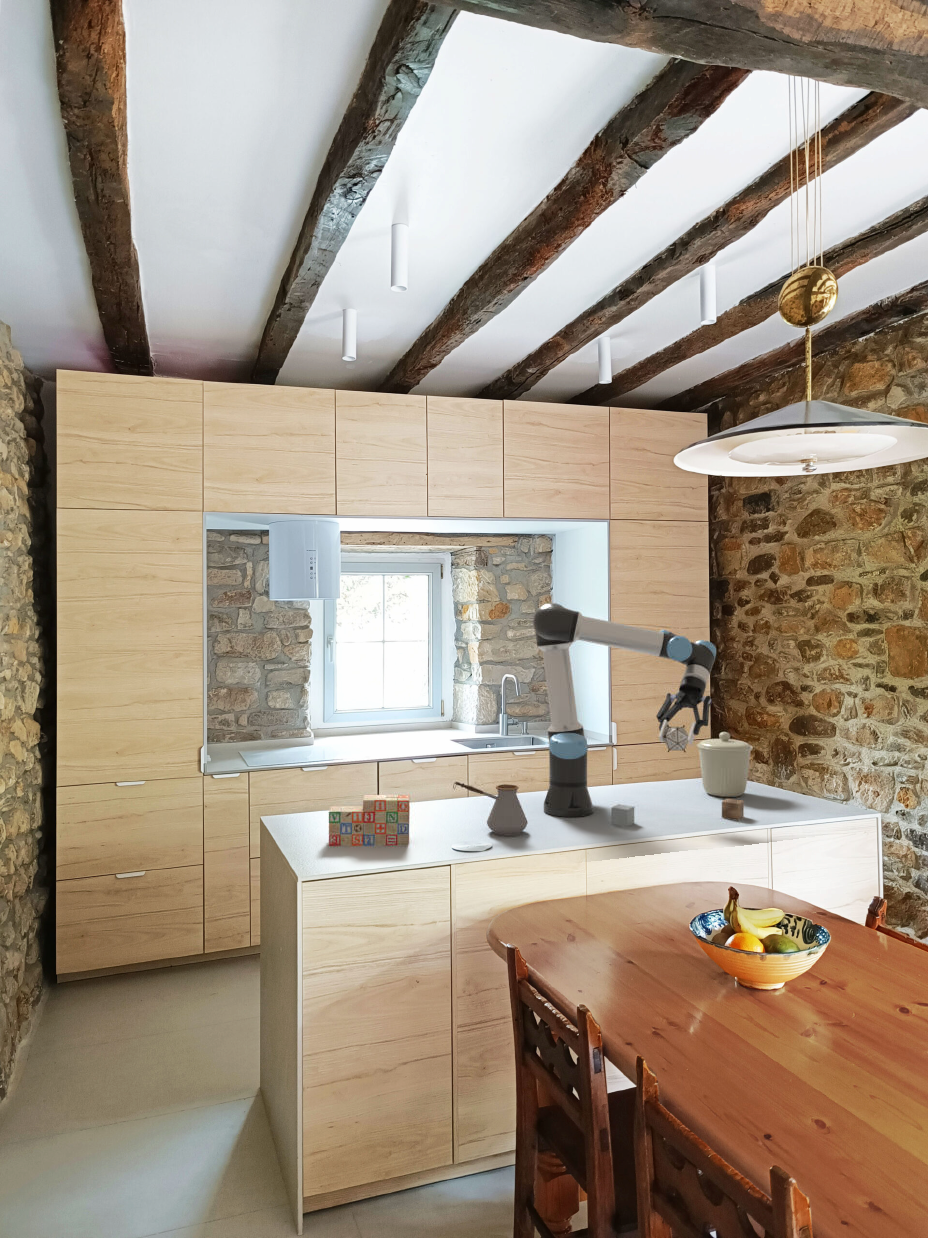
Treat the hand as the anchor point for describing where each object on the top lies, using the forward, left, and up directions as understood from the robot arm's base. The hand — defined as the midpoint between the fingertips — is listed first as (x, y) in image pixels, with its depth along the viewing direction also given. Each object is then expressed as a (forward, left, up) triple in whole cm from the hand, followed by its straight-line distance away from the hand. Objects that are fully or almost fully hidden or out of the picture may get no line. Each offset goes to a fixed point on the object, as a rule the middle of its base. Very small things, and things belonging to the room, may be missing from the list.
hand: (675, 740), depth 250 cm
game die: (-1, +3, -4) cm, 5 cm away
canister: (+1, +43, -24) cm, 49 cm away
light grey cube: (-11, -13, -24) cm, 29 cm away
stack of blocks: (-59, -70, -24) cm, 94 cm away
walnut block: (+13, +13, -24) cm, 30 cm away
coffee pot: (-37, -44, -24) cm, 62 cm away
